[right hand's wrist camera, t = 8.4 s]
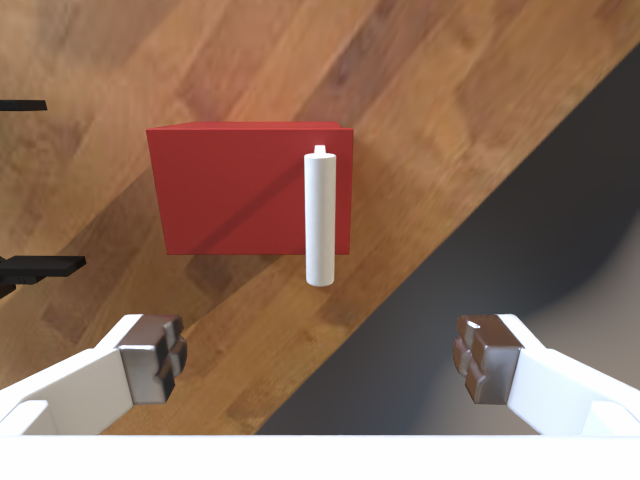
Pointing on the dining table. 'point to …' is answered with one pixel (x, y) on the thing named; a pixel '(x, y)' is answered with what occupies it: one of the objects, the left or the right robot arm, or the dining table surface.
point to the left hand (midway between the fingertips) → (57, 192)
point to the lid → (255, 192)
